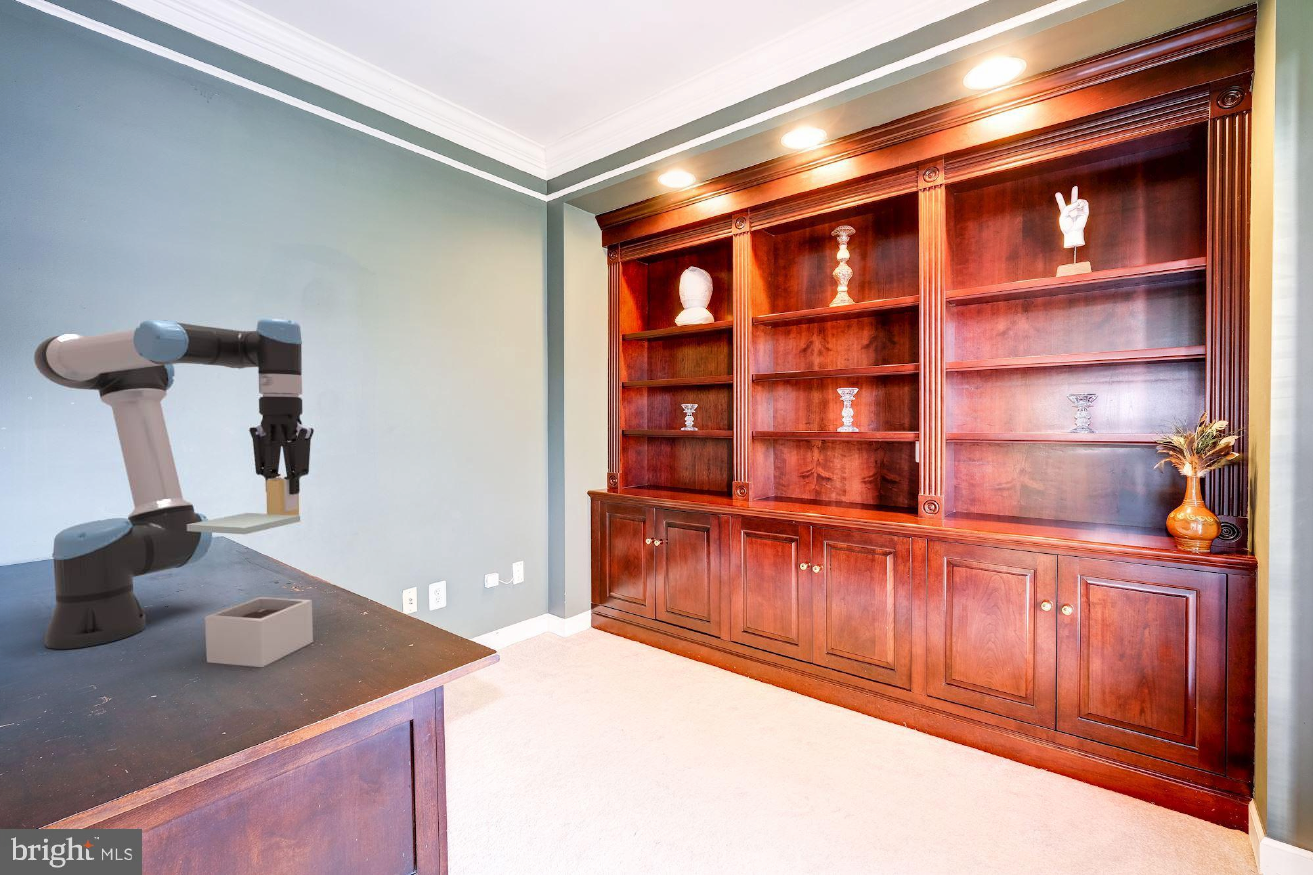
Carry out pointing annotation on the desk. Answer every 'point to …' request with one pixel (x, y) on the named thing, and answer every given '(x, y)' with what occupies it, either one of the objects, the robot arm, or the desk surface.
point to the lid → (254, 515)
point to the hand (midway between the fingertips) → (283, 509)
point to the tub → (258, 632)
